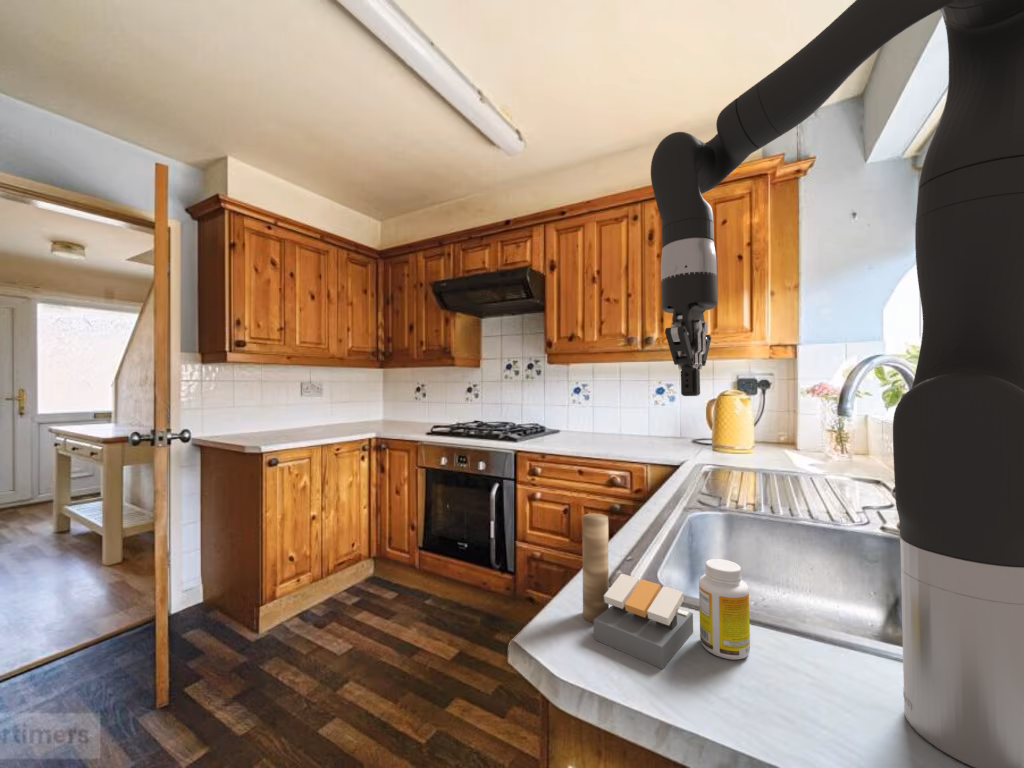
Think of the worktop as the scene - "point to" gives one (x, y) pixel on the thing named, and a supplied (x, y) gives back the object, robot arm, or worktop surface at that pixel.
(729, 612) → the supplement bottle
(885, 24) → the robot arm
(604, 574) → the pine post
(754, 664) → the worktop surface
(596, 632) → the board
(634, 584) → the paddle near post
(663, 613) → the paddle near bottle
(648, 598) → the paddle middle
